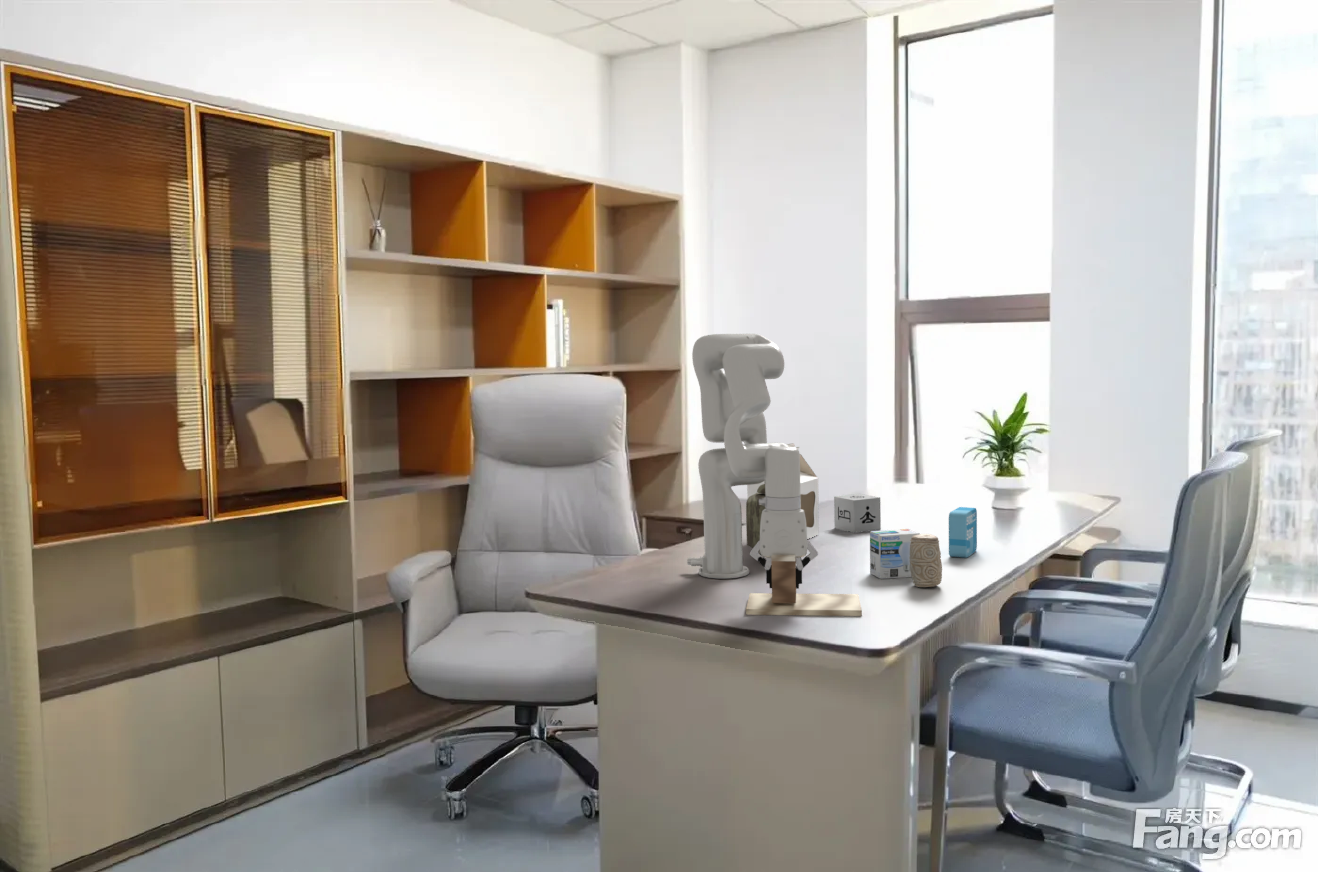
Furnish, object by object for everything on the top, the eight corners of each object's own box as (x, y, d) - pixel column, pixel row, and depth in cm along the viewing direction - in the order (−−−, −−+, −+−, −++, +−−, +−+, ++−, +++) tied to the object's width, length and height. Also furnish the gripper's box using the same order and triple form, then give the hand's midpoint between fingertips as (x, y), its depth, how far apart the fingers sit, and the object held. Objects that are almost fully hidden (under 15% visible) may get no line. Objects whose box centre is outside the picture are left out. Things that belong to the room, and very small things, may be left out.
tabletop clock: (781, 566, 256) (779, 470, 254) (746, 565, 258) (744, 470, 256) (785, 555, 270) (784, 464, 268) (752, 554, 272) (750, 464, 270)
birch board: (746, 614, 209) (746, 609, 209) (749, 598, 223) (749, 593, 223) (861, 616, 206) (861, 610, 205) (858, 599, 219) (858, 594, 219)
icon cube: (834, 528, 309) (834, 496, 308) (860, 525, 314) (860, 493, 313) (854, 533, 300) (854, 500, 300) (880, 529, 305) (880, 497, 304)
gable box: (789, 548, 280) (788, 449, 278) (747, 544, 287) (745, 448, 285) (819, 534, 299) (818, 442, 297) (779, 531, 306) (777, 441, 304)
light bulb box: (880, 579, 238) (879, 535, 237) (868, 573, 245) (868, 530, 244) (921, 576, 240) (921, 532, 239) (909, 570, 247) (908, 528, 246)
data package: (965, 559, 259) (965, 513, 258) (948, 557, 261) (948, 512, 260) (977, 550, 269) (977, 507, 268) (960, 549, 271) (960, 506, 270)
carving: (916, 582, 235) (916, 532, 234) (947, 586, 230) (946, 534, 229) (904, 587, 230) (904, 536, 229) (935, 591, 225) (935, 539, 224)
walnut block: (772, 602, 211) (771, 556, 210) (773, 592, 220) (772, 548, 219) (795, 603, 210) (795, 556, 209) (796, 592, 219) (795, 548, 218)
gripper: (742, 506, 211) (743, 590, 212) (823, 506, 208) (824, 591, 210) (744, 501, 218) (746, 582, 220) (822, 501, 216) (823, 583, 217)
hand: (784, 586), depth 215 cm, fingers closed on walnut block, 4 cm apart
